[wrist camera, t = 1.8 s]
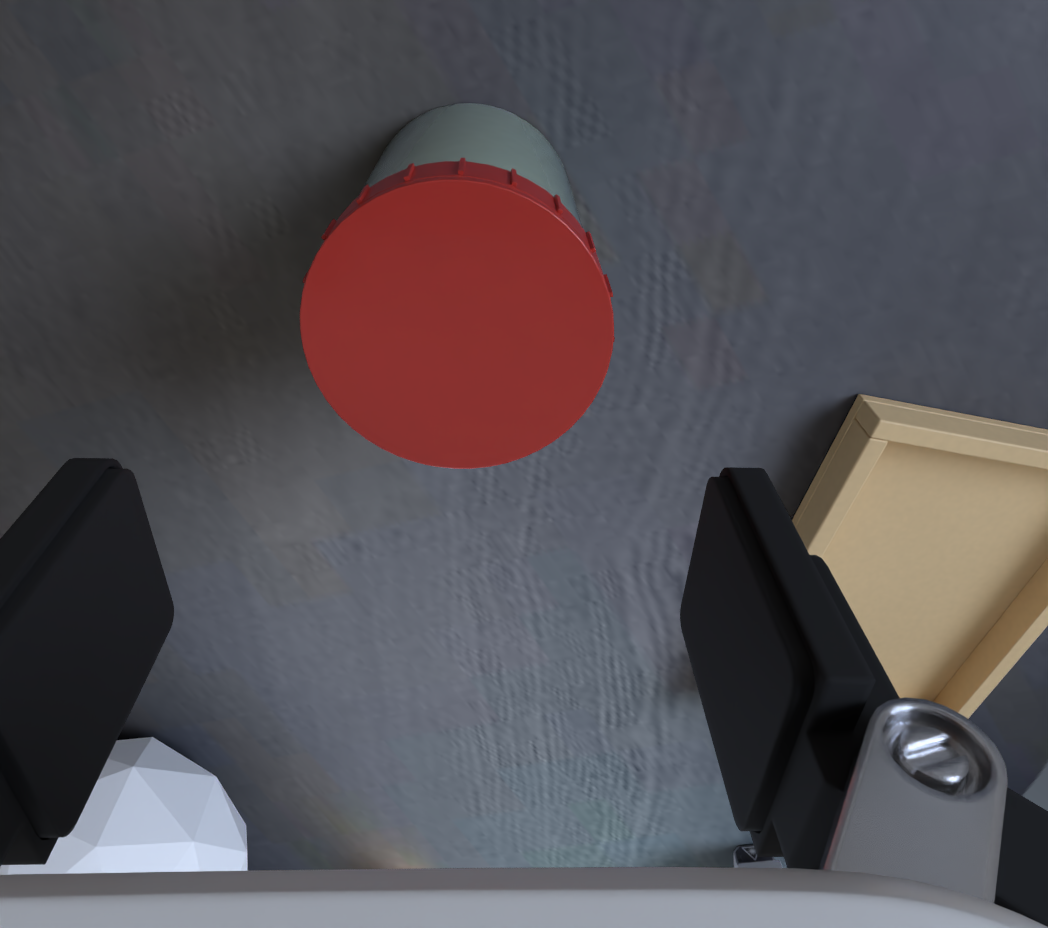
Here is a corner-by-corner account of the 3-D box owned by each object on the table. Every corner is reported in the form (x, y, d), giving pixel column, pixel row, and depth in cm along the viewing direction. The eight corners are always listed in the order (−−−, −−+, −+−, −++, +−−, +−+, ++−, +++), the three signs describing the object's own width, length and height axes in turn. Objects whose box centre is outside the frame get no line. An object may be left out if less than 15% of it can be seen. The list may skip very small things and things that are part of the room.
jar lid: (322, 125, 16) (306, 141, 14) (645, 196, 17) (657, 217, 15) (304, 411, 19) (290, 445, 18) (567, 455, 20) (572, 490, 19)
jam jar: (382, 79, 23) (320, 149, 15) (595, 129, 23) (642, 219, 16) (361, 287, 26) (302, 431, 18) (546, 323, 27) (565, 474, 19)
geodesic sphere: (-34, 964, 41) (6, 1254, 31) (-213, 818, 33) (-236, 1147, 23) (230, 787, 48) (331, 979, 38) (136, 631, 40) (233, 823, 30)
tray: (858, 392, 29) (879, 419, 27) (1141, 446, 31) (1177, 475, 29) (708, 676, 38) (718, 709, 36) (933, 705, 40) (952, 737, 38)
